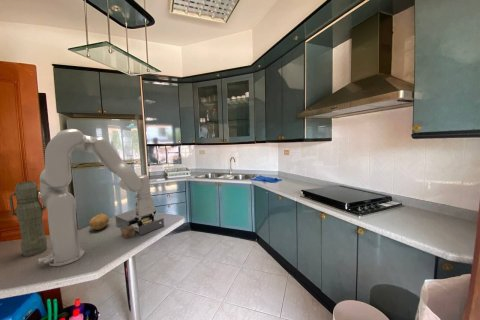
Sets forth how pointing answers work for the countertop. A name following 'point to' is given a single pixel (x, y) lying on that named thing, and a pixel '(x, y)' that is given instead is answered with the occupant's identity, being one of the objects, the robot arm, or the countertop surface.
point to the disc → (146, 220)
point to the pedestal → (128, 232)
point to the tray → (148, 226)
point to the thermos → (29, 218)
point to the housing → (127, 219)
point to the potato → (99, 221)
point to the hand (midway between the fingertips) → (146, 224)
